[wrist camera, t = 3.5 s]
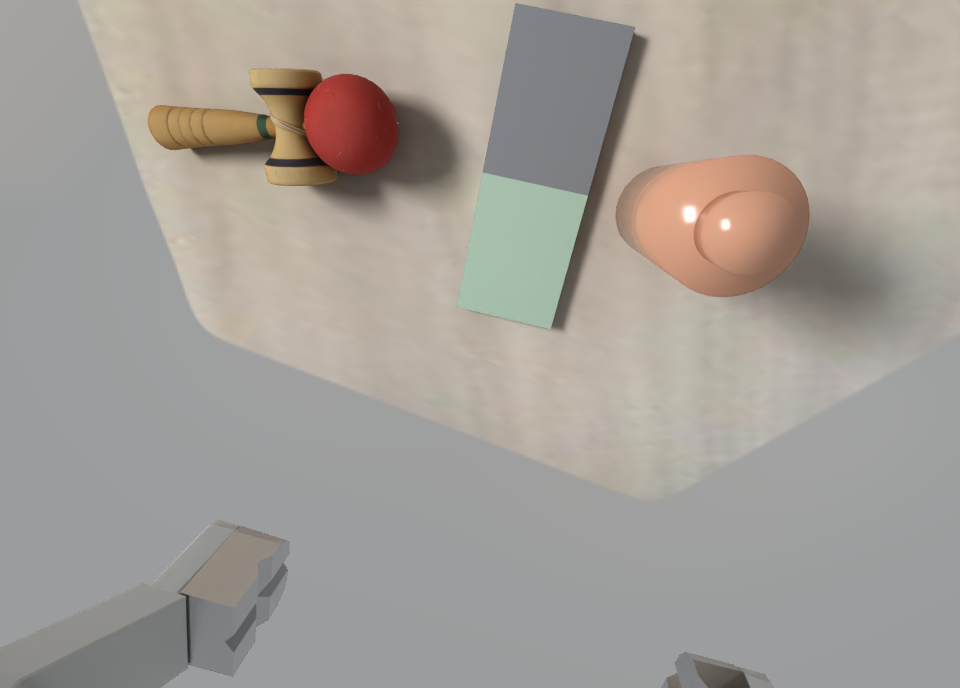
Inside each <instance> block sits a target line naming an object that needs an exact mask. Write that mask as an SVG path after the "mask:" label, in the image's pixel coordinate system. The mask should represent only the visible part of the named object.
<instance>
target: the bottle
mask: <svg viewBox="0 0 960 688" xmlns="http://www.w3.org/2000/svg"><path fill="white" fill-rule="evenodd" d="M616 223H617V227H618V231H619V233H620V235H621V236H622V238H623V239H624V241H625V242H626V243H627V244H628V245H629V246H631V247H632V248H633V249H635V250H636V251H637V252H639V253H640V254H642V255H643V256H644V257H646V258H647V259H648V260H650V261H651V262H653V263H654V264H655V265H657V266H658V267H660V268H661V269H662V270H664V271H665V272H666V273H668V274H669V275H671V276H672V277H673V278H675V279H676V280H678V281H679V282H680V283H682V284H683V285H685V286H686V287H688V288H689V289H691V290H693V291H695V292H698V293H701V294H704V295H708V296H715V297H729V296H737V295H742V294H745V293H748V292H751V291H754V290H756V289H758V288H761V287H762V286H764V285H766V284H768V283H769V282H771V281H772V280H773V279H775V278H776V277H778V276H779V275H780V274H781V273H782V272H783V271H784V270H785V269H786V268H787V267H788V266H789V265H790V264H791V262H792V261H793V260H794V258H795V257H796V255H797V254H798V252H799V250H800V248H801V247H802V245H803V242H804V239H805V237H806V234H807V230H808V225H809V204H808V198H807V195H806V192H805V190H804V188H803V186H802V184H801V182H800V181H799V179H798V178H797V177H796V175H795V174H794V173H793V172H792V171H791V170H790V169H788V168H787V167H786V166H784V165H783V164H781V163H779V162H777V161H775V160H773V159H770V158H767V157H763V156H757V155H738V156H730V157H723V158H716V159H709V160H702V161H695V162H688V163H681V164H673V165H666V166H659V167H654V168H651V169H648V170H646V171H644V172H642V173H640V174H639V175H637V176H636V177H635V178H633V179H632V180H631V181H630V182H629V183H628V185H627V186H626V187H625V189H624V190H623V192H622V193H621V195H620V198H619V200H618V203H617V207H616Z"/></svg>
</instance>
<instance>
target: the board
mask: <svg viewBox="0 0 960 688" xmlns="http://www.w3.org/2000/svg"><path fill="white" fill-rule="evenodd" d="M634 30H635V27H632V26H627V25H622V24H617V23H612V22H607V21H602V20H597V19H592V18H587V17H582V16H577V15H572V14H567V13H562V12H557V11H552V10H547V9H542V8H537V7H532V6H527V5H522V4H517V3H516V4H515V9H514V14H513V19H512V24H511V30H510V35H509V40H508V45H507V50H506V55H505V60H504V66H503V71H502V76H501V81H500V86H499V91H498V96H497V102H496V107H495V112H494V117H493V122H492V127H491V132H490V138H489V143H488V148H487V153H486V158H485V163H484V168H483V174H482V179H481V184H480V189H479V194H478V199H477V204H476V210H475V215H474V220H473V225H472V230H471V235H470V240H469V246H468V251H467V256H466V261H465V266H464V271H463V276H462V282H461V287H460V292H459V297H458V302H457V307H459V308H463V309H468V310H472V311H476V312H480V313H484V314H489V315H493V316H497V317H501V318H505V319H509V320H514V321H518V322H522V323H526V324H530V325H535V326H539V327H543V328H547V329H551V326H552V322H553V319H554V315H555V312H556V308H557V305H558V301H559V297H560V294H561V290H562V287H563V283H564V280H565V276H566V272H567V269H568V265H569V262H570V258H571V255H572V251H573V247H574V244H575V240H576V237H577V233H578V230H579V226H580V223H581V219H582V215H583V212H584V208H585V205H586V201H587V198H588V194H589V190H590V187H591V183H592V180H593V176H594V173H595V169H596V165H597V162H598V158H599V155H600V151H601V148H602V144H603V140H604V137H605V133H606V130H607V126H608V123H609V119H610V115H611V112H612V108H613V105H614V101H615V98H616V94H617V90H618V87H619V83H620V80H621V76H622V73H623V69H624V65H625V62H626V58H627V55H628V51H629V48H630V44H631V40H632V37H633V33H634Z"/></svg>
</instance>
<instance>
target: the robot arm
mask: <svg viewBox="0 0 960 688" xmlns="http://www.w3.org/2000/svg"><path fill="white" fill-rule="evenodd" d="M289 544H290V543H289V541H287V540H284V539H280V538H278V537H274V536H271V535H268V534H265V533H261V532H258V531H255V530H252V529H249V528H246V527H242V526H239V525H235V524H232V523H229V522H225V521H222V520H217V521H215V522H214V523H212V524H210V525H209V526H208V527H207V528H206V529H205V530H204V531H203V532H202V533H201V534H200V535H199V536H198V537H197V538H196V539H195V540H194V541H193V542H192V543H191V544H190V545H189V546H188V547H187V548H186V549H185V550H184V551H183V552H182V553H181V554H180V555H179V557H178V558H177V559H176V560H175V561H174V562H173V563H172V564H171V565H170V566H169V567H168V568H167V569H166V570H165V571H164V572H163V573H162V574H161V575H160V576H159V577H158V578H157V579H156V580H155V581H154V582H153V584H151V585H147V584H141V585H139V586H136V587H134V588H132V589H129V590H127V591H125V592H123V593H121V594H119V595H116V596H114V597H112V598H109V599H107V600H105V601H103V602H101V603H98V604H96V605H94V606H92V607H89V608H87V609H85V610H83V611H81V612H78V613H76V614H74V615H72V616H69V617H68V618H65V619H63V620H61V621H58V622H56V623H54V624H52V625H50V626H47V627H45V628H43V629H41V630H38V631H36V632H34V633H32V634H30V635H28V636H25V637H23V638H21V639H18V640H16V641H14V642H12V643H10V644H8V645H5V646H3V647H1V648H0V688H160V687H162V686H164V685H165V684H166V683H168V682H169V681H170V680H172V679H173V678H175V677H176V676H178V675H179V674H180V673H182V672H183V671H185V670H186V669H187V668H188V665H191V666H195V667H199V668H203V669H206V670H210V671H214V672H218V673H222V674H225V675H229V676H233V675H234V674H235V672H236V671H237V669H238V667H239V666H240V664H241V663H242V661H243V660H244V658H245V656H246V655H247V653H248V651H249V650H250V649H251V647H252V645H253V644H254V642H255V633H256V627H257V626H259V625H260V624H262V623H264V622H265V621H267V620H269V618H270V616H271V615H272V613H273V611H274V610H275V608H276V606H277V605H278V602H279V600H280V598H281V596H282V593H283V591H284V588H285V584H286V580H287V572H288V569H287V568H286V566H285V565H284V563H283V562H284V561H285V559H286V558H287V556H288V555H289ZM675 666H676V669H677V673H676V674H674V675H672V676H669V677H667V678H666V680H665V681H664V684H663V685H662V687H661V688H774V687H773V685H772V683H771V681H770V680H769V679H768V677H767V676H766V675H765V674H763V673H759V672H756V671H752V670H748V669H745V668H741V667H737V666H735V665H733V664H729V663H725V662H721V661H717V660H714V659H710V658H706V657H703V656H699V655H695V654H691V653H687V652H685V653H683V654H680V655H679V657H678V659H677V661H676V662H675Z"/></svg>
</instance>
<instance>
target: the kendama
mask: <svg viewBox="0 0 960 688" xmlns="http://www.w3.org/2000/svg"><path fill="white" fill-rule="evenodd" d="M249 75H250V83H251V87H252V88H253V89H254V90H255V91H256V92H257V93H258V94H259V95H260V96H261V97H262V99H263V100H264V101H265V103H266V104H267V106H268V108H269V109H270V111H271V113H270V115H271V116H267V115H261V114H255V113H249V112H242V111H234V110H222V109H200V108H188V107H175V106H166V105H158V106H155V107H154V108H153V109H151V110H150V112H149V115H148V126H149V130H150V132H151V134H152V136H153V137H154V139H155V140H156V141H157V142H158V143H159V144H160V145H161V146H163V147H165V148H167V149H170V150H179V149H188V148H196V147H207V146H220V145H235V144H244V143H250V142H255V141H261V140H266V139H272V138H276V142H275V146H274V150H273V152H272V154H271V156H270V158H269V160H268V161H267V162H266V163H265V164H264V168H265V172H266V176H267V180H268V182H270V183H272V184H275V185H284V186H305V185H319V184H325V183H330V182H333V181H335V180H337V179H338V173H337V170H338V171H340V172H343V173H346V174H351V175H363V174H368V173H371V172H374V171H376V170H378V169H379V168H381V167H382V166H383V165H385V164H386V163H387V162H388V161H389V159H390V158H391V157H392V155H393V153H394V151H395V148H396V145H397V140H398V125H399V122H398V121H397V116H396V113H395V110H394V108H393V105H392V103H391V102H390V100H389V98H388V97H387V95H386V94H385V93H384V92H383V90H382V89H381V88H380V87H378V86H377V85H376V84H375V83H373V82H371V81H370V80H368V79H366V78H363V77H361V76H358V75H352V74H339V75H334V76H331V77H329V78H327V79H325V80H324V81H322V77H321V73H319V72H318V71H315V70H305V69H302V70H301V69H250V70H249Z"/></svg>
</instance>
